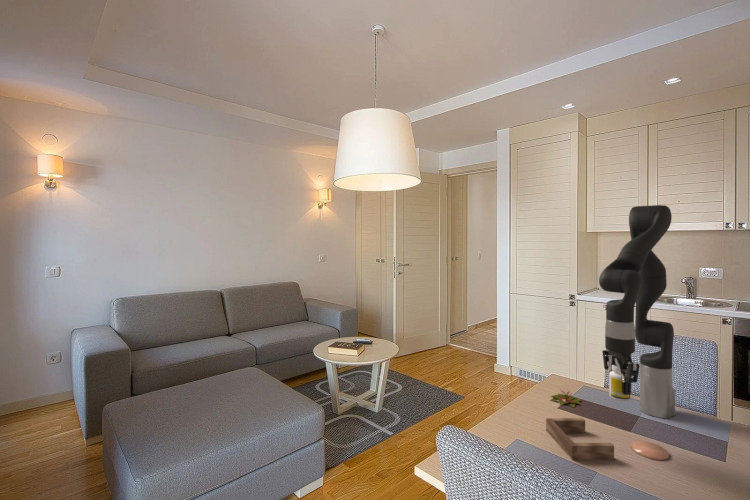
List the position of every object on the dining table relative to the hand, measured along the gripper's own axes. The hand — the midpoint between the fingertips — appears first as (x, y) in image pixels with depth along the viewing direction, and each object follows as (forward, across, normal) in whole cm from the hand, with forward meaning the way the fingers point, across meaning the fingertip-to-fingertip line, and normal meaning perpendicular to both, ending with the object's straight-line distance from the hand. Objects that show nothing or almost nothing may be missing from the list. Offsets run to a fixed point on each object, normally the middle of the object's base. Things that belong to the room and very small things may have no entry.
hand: (619, 389), depth 110 cm
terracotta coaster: (+17, -3, -6) cm, 19 cm away
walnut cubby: (+17, 0, +13) cm, 21 cm away
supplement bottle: (+3, 0, 0) cm, 3 cm away
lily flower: (+18, +30, +1) cm, 35 cm away
